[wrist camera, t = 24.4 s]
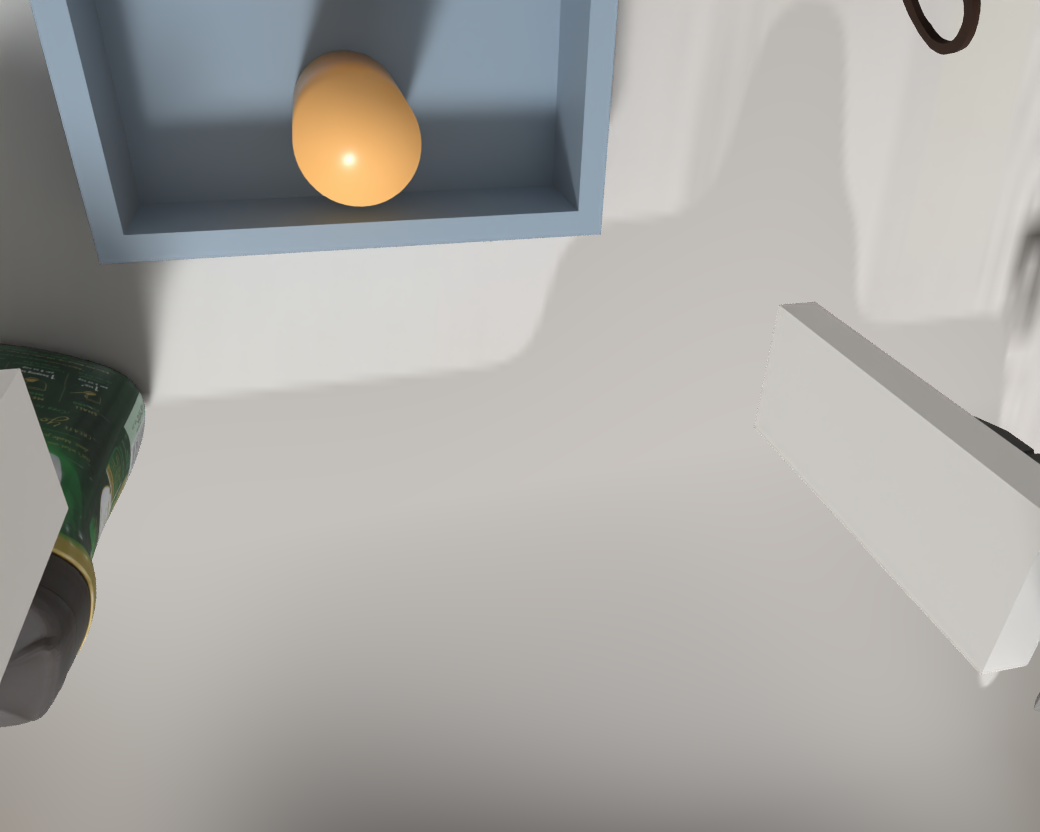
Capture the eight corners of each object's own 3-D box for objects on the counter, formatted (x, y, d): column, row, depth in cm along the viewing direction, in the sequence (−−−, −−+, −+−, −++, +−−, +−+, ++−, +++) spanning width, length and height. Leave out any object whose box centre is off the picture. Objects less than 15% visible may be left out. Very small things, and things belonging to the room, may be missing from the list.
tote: (1, -274, 29) (-54, -311, 24) (590, -233, 33) (637, -258, 29) (123, 224, 38) (99, 264, 34) (568, 201, 43) (600, 234, 38)
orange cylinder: (286, 49, 35) (285, 75, 30) (399, 50, 36) (419, 76, 31) (298, 164, 38) (299, 208, 32) (403, 161, 39) (423, 204, 33)
